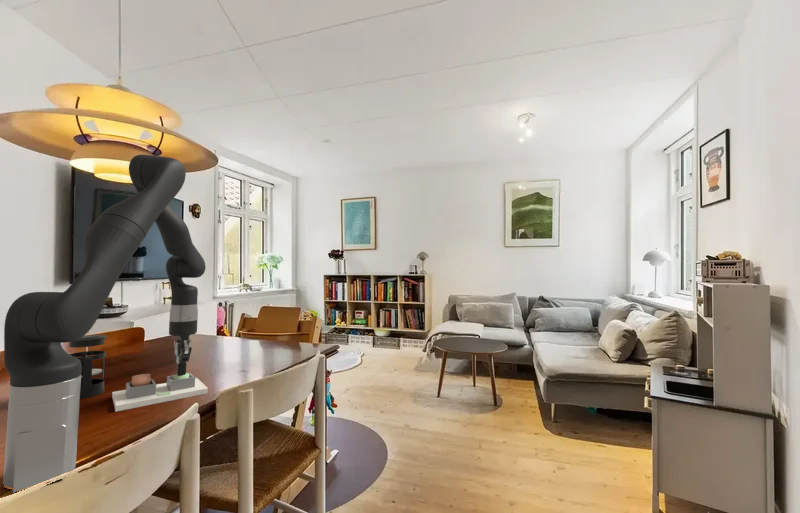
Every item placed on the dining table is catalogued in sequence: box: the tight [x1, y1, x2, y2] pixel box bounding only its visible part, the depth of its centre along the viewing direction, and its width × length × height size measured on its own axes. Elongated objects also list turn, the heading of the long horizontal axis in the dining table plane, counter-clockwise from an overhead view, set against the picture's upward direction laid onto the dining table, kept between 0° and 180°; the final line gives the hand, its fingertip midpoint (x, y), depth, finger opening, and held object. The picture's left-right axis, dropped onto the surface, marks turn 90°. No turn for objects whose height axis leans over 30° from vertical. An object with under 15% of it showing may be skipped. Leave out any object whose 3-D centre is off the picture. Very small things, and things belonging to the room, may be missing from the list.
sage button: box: [172, 372, 190, 380], centre depth 108 cm, size 4×4×3 cm
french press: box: [68, 330, 108, 400], centre depth 104 cm, size 12×9×23 cm
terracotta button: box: [131, 373, 152, 387], centre depth 101 cm, size 4×4×3 cm
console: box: [111, 372, 209, 413], centre depth 104 cm, size 14×22×4 cm, turn 133°
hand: (181, 374), depth 108 cm, fingers closed
